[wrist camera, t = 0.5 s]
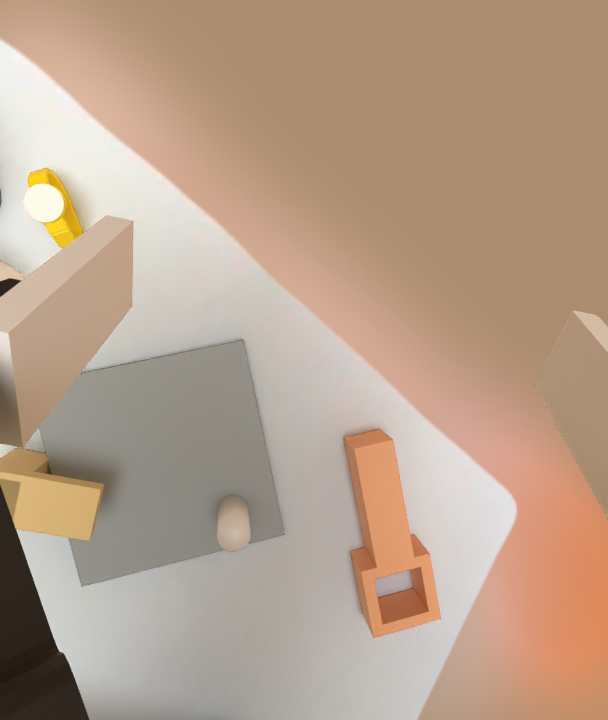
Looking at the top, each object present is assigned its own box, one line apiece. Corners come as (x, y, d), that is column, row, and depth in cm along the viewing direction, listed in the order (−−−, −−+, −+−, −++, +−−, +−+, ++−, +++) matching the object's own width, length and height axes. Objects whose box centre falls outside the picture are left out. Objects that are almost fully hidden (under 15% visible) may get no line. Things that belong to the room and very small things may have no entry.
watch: (98, 243, 44) (80, 239, 38) (65, 254, 44) (43, 251, 38) (68, 172, 43) (45, 157, 37) (35, 182, 43) (7, 169, 37)
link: (424, 594, 52) (441, 618, 48) (362, 612, 51) (373, 638, 47) (394, 425, 49) (408, 435, 45) (328, 441, 49) (337, 452, 45)
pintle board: (283, 529, 49) (292, 566, 42) (39, 591, 46) (6, 642, 39) (242, 339, 46) (246, 345, 39) (-16, 393, 44) (-63, 409, 37)
